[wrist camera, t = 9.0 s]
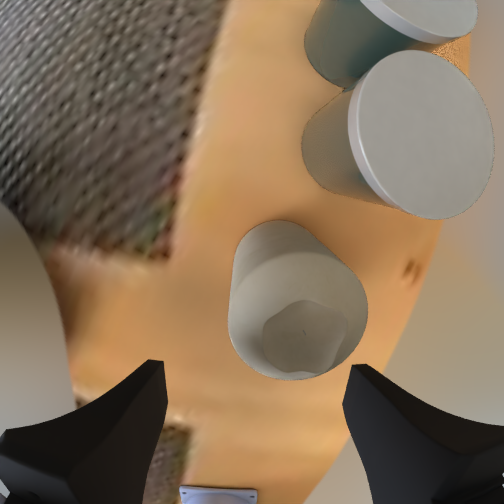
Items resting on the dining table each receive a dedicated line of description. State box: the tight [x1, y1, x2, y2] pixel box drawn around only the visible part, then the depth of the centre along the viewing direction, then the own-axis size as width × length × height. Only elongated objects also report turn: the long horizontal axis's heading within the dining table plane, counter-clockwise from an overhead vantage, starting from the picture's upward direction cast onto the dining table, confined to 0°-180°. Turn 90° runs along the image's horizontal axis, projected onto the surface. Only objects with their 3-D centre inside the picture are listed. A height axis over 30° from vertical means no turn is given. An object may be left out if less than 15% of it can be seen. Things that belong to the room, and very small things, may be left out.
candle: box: [228, 220, 368, 380], centre depth 15 cm, size 6×6×10 cm
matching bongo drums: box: [302, 0, 494, 220], centre depth 13 cm, size 13×6×10 cm, turn 177°
